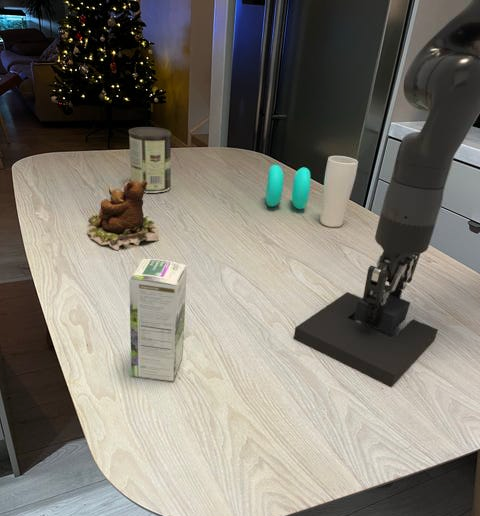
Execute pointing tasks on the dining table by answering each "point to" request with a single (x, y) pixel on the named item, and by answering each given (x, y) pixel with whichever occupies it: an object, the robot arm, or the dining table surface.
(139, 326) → the syrup box
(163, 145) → the coffee can
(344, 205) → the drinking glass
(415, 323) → the black notched slab
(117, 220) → the bear figurine
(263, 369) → the dining table surface
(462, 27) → the robot arm
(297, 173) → the teal wheel pair
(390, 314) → the graphite block
